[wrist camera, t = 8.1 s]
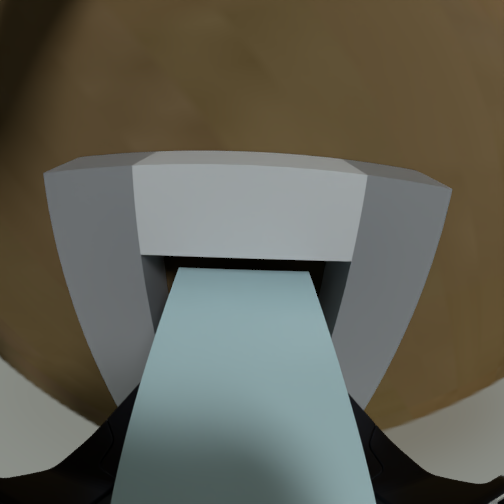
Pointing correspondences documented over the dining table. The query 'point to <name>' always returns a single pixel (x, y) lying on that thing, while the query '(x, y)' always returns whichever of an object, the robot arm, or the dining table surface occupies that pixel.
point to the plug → (242, 399)
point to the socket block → (243, 243)
